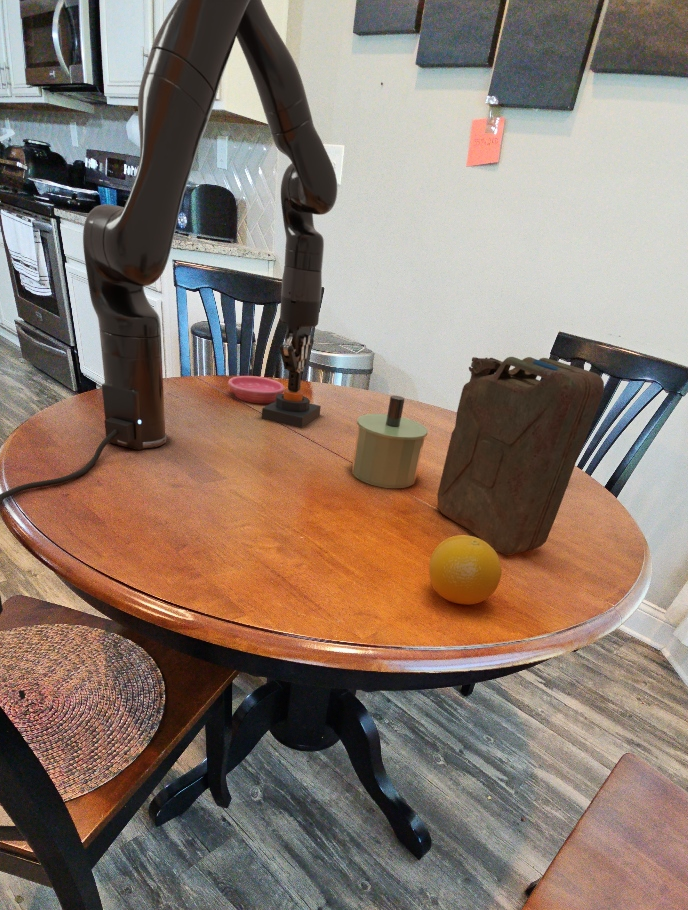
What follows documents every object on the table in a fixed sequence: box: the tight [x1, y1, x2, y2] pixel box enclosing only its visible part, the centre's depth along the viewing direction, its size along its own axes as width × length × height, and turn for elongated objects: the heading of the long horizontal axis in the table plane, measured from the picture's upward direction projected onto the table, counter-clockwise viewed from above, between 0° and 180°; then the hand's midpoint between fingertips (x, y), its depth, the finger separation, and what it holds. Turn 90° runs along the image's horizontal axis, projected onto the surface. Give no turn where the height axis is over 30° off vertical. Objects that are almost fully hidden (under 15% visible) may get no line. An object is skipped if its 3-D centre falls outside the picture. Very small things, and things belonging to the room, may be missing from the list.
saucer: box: [228, 375, 285, 404], centre depth 133 cm, size 12×12×3 cm
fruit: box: [428, 534, 502, 606], centre depth 72 cm, size 9×8×8 cm
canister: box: [436, 356, 605, 556], centre depth 85 cm, size 19×8×25 cm, turn 32°
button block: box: [261, 392, 322, 429], centre depth 124 cm, size 11×9×4 cm
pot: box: [351, 425, 426, 489], centre depth 103 cm, size 11×11×8 cm
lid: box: [356, 394, 429, 440], centre depth 99 cm, size 12×12×6 cm
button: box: [283, 388, 304, 402], centre depth 123 cm, size 4×4×2 cm
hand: (293, 390), depth 122 cm, fingers closed
